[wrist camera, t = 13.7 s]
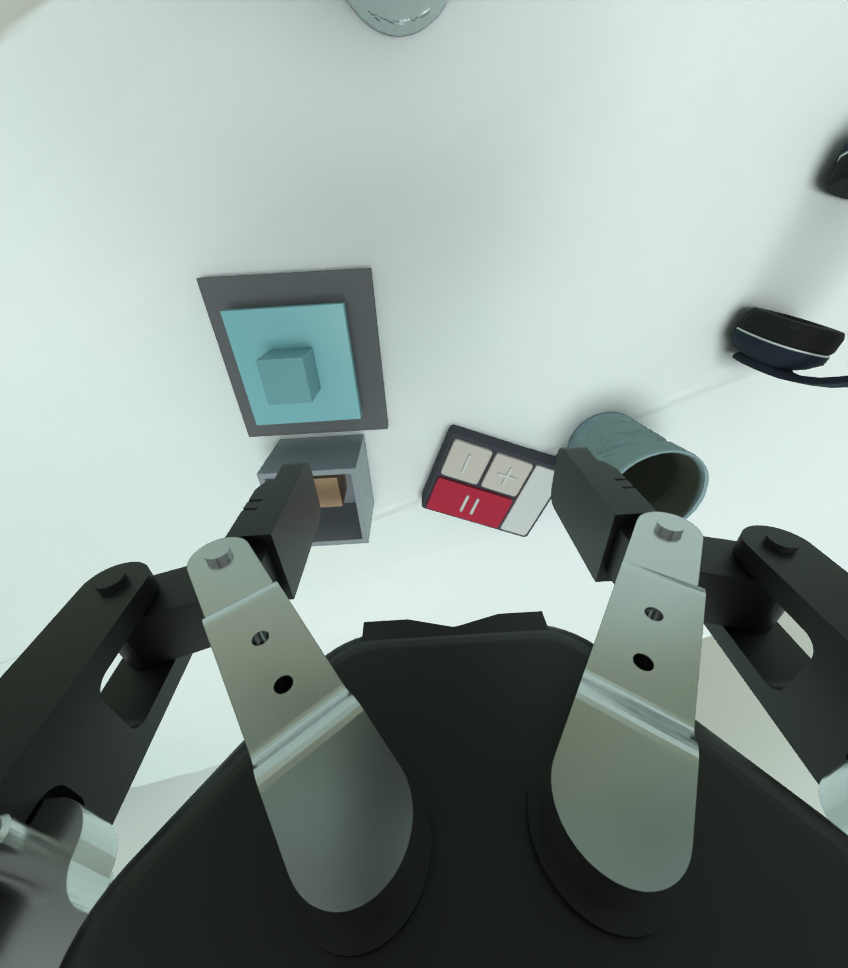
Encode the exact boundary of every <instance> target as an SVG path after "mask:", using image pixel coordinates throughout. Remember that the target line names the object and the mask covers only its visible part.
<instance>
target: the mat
mask: <svg viewBox="0 0 848 968" xmlns="http://www.w3.org/2000/svg"><path fill="white" fill-rule="evenodd" d="M197 282H198V285H199V288H200V291H201V294H202V297H203V300H204V303H205V306H206V309H207V312H208V315H209V318H210V321H211V324H212V327H213V330H214V333H215V336H216V339H217V342H218V345H219V348H220V351H221V354H222V357H223V360H224V363H225V366H226V369H227V372H228V375H229V378H230V381H231V384H232V387H233V390H234V393H235V396H236V399H237V402H238V405H239V408H240V411H241V414H242V417H243V420H244V423H245V426H246V429H247V432H248V435H249V437H256V436H273V435H290V434H307V433H324V432H342V431H359V430H376V429H388V420H387V411H386V401H385V392H384V383H383V374H382V364H381V355H380V346H379V337H378V327H377V318H376V309H375V300H374V290H373V281H372V272H371V268H367V269H349V270H331V271H314V272H296V273H278V274H260V275H243V276H225V277H207V278H197ZM338 302H345V307H346V313H347V320H348V326H349V333H350V339H351V346H352V352H353V359H354V366H355V372H356V379H357V385H358V392H359V398H360V405H361V411H362V416H361V419H348V420H333V421H317V422H301V423H286V424H270V425H257V424H256V421H255V418H254V415H253V412H252V409H251V406H250V403H249V400H248V396H247V393H246V390H245V387H244V384H243V381H242V378H241V375H240V372H239V369H238V365H237V362H236V359H235V356H234V353H233V350H232V347H231V344H230V341H229V338H228V334H227V331H226V328H225V325H224V322H223V319H222V316H221V313H220V311H223V310H227V309H243V308H259V307H275V306H291V305H306V304H322V303H338Z"/></svg>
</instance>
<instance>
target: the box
mask: <svg viewBox="0 0 848 968" xmlns="http://www.w3.org/2000/svg"><path fill="white" fill-rule="evenodd" d="M291 463H309V465H310V467H311V470H312V474H313V476H321V475H337V474H345V478H346V483H347V491H346V495H345V499H344V503H343V506H336V507H320V521H319V524H318V527H317V530H316V533H315V536H314V539H313V542H312V546H324V545H340V544H357V543H369V536H370V528H371V521H372V513H373V506H374V500H373V493H372V486H371V479H370V473H369V466H368V459H367V453H366V446H365V439H364V435H347V436H330V437H313V438H296V439H280V440H279V442H278V443H277V445H276V446H275V448H274V449H273V451H272V452H271V454H270V455H269V457H268V458H267V460H266V461H265V463H264V464H263V466H262V467H261V469H260V470H259V472H258V473H257V476H258V479H259V482H260V485H262V484H263V483H265V482H266V481H267V480H274V479H275V477H276V475H277V473H278V472H279V470H280V468H281V467H282V465H283V464H291Z"/></svg>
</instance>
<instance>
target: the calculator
mask: <svg viewBox="0 0 848 968" xmlns="http://www.w3.org/2000/svg"><path fill="white" fill-rule="evenodd" d="M556 458H557V457H555V456H552V455H548V454H545V453H542V452H539V451H536V450H533V449H527V448H524V447H521V446H518V445H515V444H512V443H509V442H506V441H503V440H500V439H497V438H494V437H491V436H488V435H485V434H482V433H479V432H475V431H472V430H469V429H466V428H463V427H460V426H456V425H451V426H450V428H449V430H448V432H447V435H446V437H445V440H444V442H443V444H442V447H441V449H440V452H439V454H438V457H437V459H436V461H435V464H434V466H433V469H432V471H431V473H430V476H429V478H428V481H427V483H426V486H425V488H424V490H423V493H422V507H423V508H426V509H430V510H433V511H436V512H440V513H443V514H447V515H450V516H454V517H457V518H461V519H464V520H467V521H471V522H474V523H478V524H481V525H485V526H488V527H491V528H495V529H498V530H502V531H505V532H509V533H512V534H515V535H519V536H522V537H526V536H527V535H528V534H529V532H530V531H531V529H532V527H533V526H534V524H535V523H536V521H537V520H538V518H539V517H540V515H541V513H542V512H543V510H544V509H545V507H546V506H547V504H548V503H549V501H550V499H551V487H552V481H553V475H554V470H555V464H556Z"/></svg>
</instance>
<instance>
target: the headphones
mask: <svg viewBox="0 0 848 968" xmlns="http://www.w3.org/2000/svg"><path fill="white" fill-rule="evenodd" d="M826 188H827V191H829V192H830V193H831V194H833V195H836V196H839V197H842V198H846V199H848V144H846V145H845V147H844V149H843V150H842V152H841V154H840V156H839V158H838V160H837V163H836V164H835V166H834V168H833V170H832V172H831V175H830V177H829V179H828V182H827V184H826ZM844 337H845V334H844V333H843V332H840V331H837V330H835V329H832V328H829V327H826V326H823V325H820V324H817V323H814V322H810V321H807V320H804V319H801V318H797V317H793V316H790V315H786V314H782V313H778V312H774V311H770V310H766V309H761V308H756V307H755V308H753V309H752V310H750V311H749V312H748V313H747V314H746V316H745V317H744V318H743V319H742V321H741V322H740V324H739V326H738V327H737V328H736V329H735V331H734V332H733V334H732V338H733V341H734V344H735V346H736V347H737V348H738V350H739V351H740V352H737V353H735V354H734V355H733V356H732V357H733V358H734V359H736V360H737V361H739V362H741V363H743V364H745V365H747V366H749V367H751V368H753V369H756V370H758V371H760V372H763V373H765V374H768V375H771V376H774V377H776V378H779V379H784V380H788V381H792V382H797V383H801V384H806V385H812V386H820V387H828V388H839V387H848V376H840V377H825V378H817V377H808V376H801V375H798V374H795V373H793V371H792V370H807V369H811V368H815V367H819V366H823V365H824V364H825V363H826V362H827V361H828V359H829V358H830V356H829V355H831V354H833V353H835V351H836V350H837V349H838V347H839V346H840V345H841V343H842V342H843V341H844Z"/></svg>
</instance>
